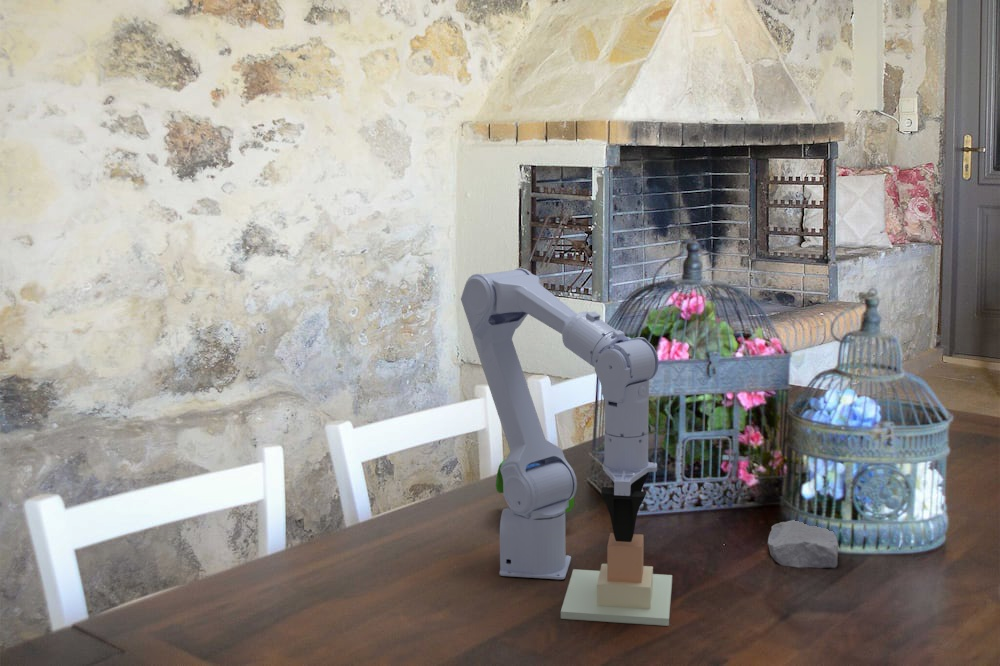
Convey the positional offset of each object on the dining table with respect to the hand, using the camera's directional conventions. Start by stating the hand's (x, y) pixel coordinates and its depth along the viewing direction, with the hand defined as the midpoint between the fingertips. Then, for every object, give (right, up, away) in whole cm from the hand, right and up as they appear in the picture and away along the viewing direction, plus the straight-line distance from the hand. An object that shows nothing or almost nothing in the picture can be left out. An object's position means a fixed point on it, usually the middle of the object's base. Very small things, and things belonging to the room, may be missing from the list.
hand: (625, 530), depth 145 cm
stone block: (+28, -7, +19) cm, 35 cm away
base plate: (-1, -10, +3) cm, 10 cm away
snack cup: (-11, -5, +33) cm, 35 cm away
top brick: (0, -6, +1) cm, 6 cm away
